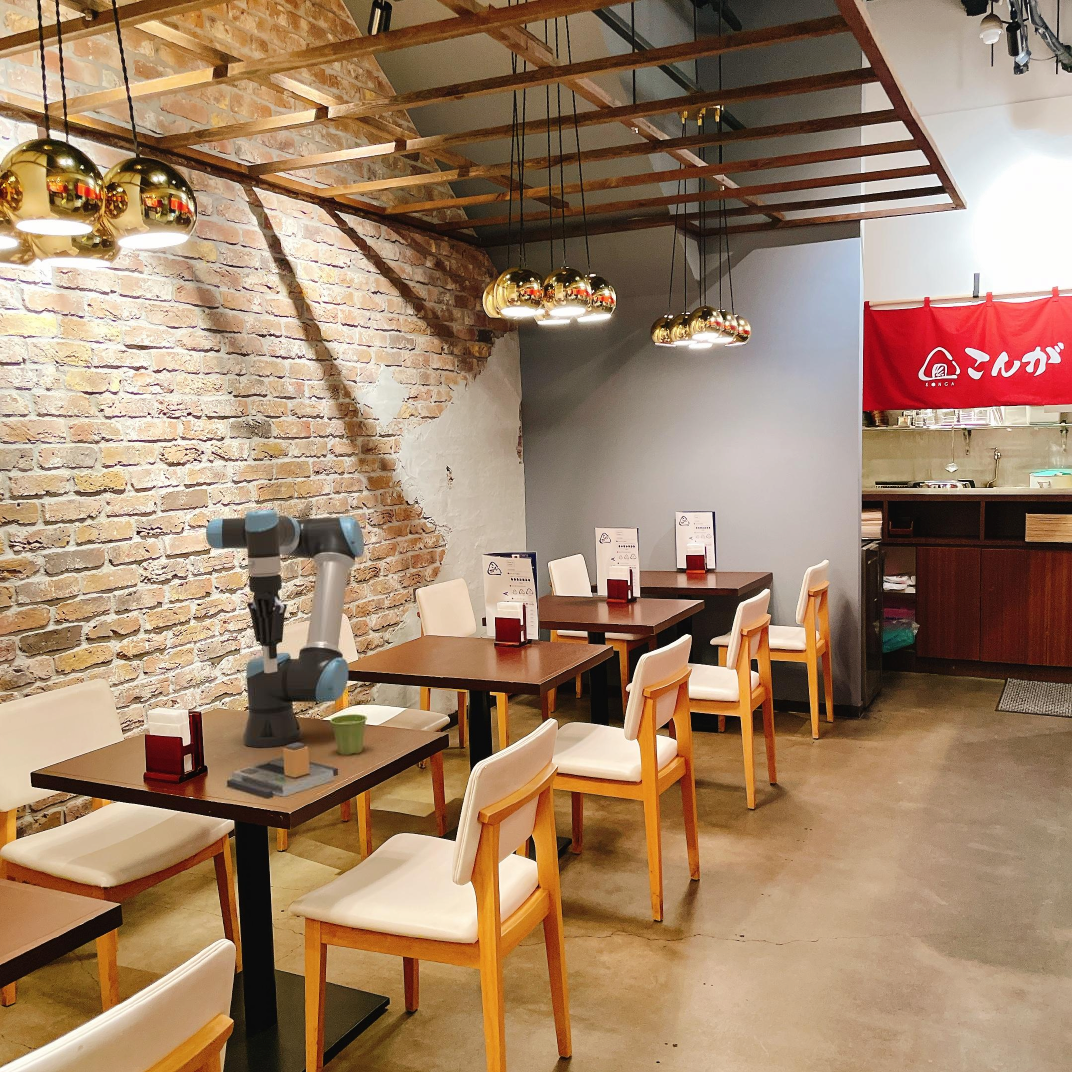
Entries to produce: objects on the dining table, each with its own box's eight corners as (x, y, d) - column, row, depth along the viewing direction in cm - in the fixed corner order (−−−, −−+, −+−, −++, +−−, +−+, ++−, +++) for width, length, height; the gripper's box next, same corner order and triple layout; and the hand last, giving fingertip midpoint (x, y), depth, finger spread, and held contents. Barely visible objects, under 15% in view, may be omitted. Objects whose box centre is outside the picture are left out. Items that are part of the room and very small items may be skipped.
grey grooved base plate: (224, 785, 233) (224, 779, 233) (297, 763, 249) (297, 758, 249) (267, 798, 222) (267, 792, 222) (340, 774, 238) (340, 769, 238)
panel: (232, 781, 236) (231, 771, 236) (282, 766, 246) (281, 756, 246) (283, 796, 223) (282, 785, 223) (333, 780, 233) (333, 769, 233)
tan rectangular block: (284, 774, 231) (282, 745, 230) (298, 770, 234) (297, 741, 233) (295, 777, 228) (293, 748, 228) (309, 772, 231) (307, 743, 231)
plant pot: (374, 747, 261) (373, 714, 260) (359, 757, 252) (357, 723, 251) (342, 746, 263) (340, 713, 263) (325, 756, 254) (323, 722, 254)
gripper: (235, 575, 241) (241, 672, 243) (267, 577, 233) (273, 677, 234) (262, 572, 247) (268, 666, 248) (294, 573, 239) (300, 671, 240)
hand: (270, 671), depth 241 cm, fingers closed
